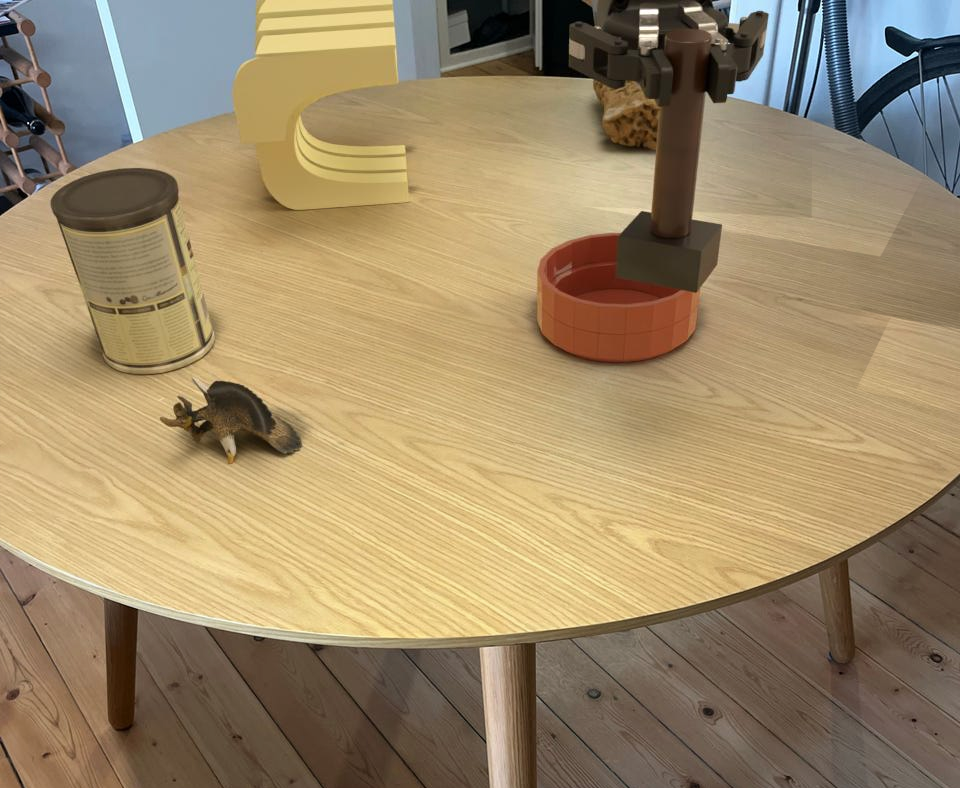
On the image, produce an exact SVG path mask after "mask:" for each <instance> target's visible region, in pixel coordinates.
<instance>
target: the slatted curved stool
mask: <svg viewBox="0 0 960 788" xmlns="http://www.w3.org/2000/svg"><path fill="white" fill-rule="evenodd" d="M254 13H255V15H254V16H255V23H254V24H255V25H254V33H255V38H254V39H255V40H254V58H251V59H248V60H246V61H244V62H243V63H242V64H240V66H239V67H238V69H237V71H236V74H235V77H234V80H233V84H232V90H231V91H232V93H231V97H232V105H233V109H234V114H235V119H236V125H237V129H238V135H239V140H240V144H242V145H243V144H254V147H255V151H256V156H257V159H258V164H259V168H260V174H261V178H262V181H263V183H264V185H265V188H266V189H267V191H268V192H269V194H270V195H271V196H272V197H273V198H274V200H275V201H277V202H278V203H279V204H281V205H282V206H284V207H285V208H287V209H291V210H295V211H303V210H305V211H306V210H318V209H319V210H321V209H332V208H345V207H360V206H362V207H363V206H374V205H388V204H399V203H400V204H401V203H410V197H409V196H410V195H409V182H408V179H409V178H408V165H407V164H408V163H407V153H406V144H396V145H395V144H394V145H369V146H362V145H361V146H360V145H359V146H358V145H343V144H336V143H331V142H327V141H326V142H325V141H323V140H320V139H318V138H316V137H314V136H313V135H311V134H310V133H309V132H308V130H307V129H306V128H305V126H304V124H303V121H302V117H301V114H302V113H303V111H304V110H305V109H306V108H307V107H308V106H309V105H311V104H312V103H314V102H317V101H318V100H320V99H322V98H325V97H328V96H332V95H334V94H339V93H343V92H346V91H353V90H359V89H365V88H373V87H380V86H389V85H399V71H398V53H397V39H396V38H397V37H396V26H395V24H396V23H395V12H394V0H256V4H255V12H254Z"/></svg>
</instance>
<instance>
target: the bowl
mask: <svg viewBox="0 0 960 788" xmlns="http://www.w3.org/2000/svg"><path fill="white" fill-rule="evenodd" d="M621 233H622V232H606V233H605V232H604V233H597V234H596V233H595V234H588V235H584V236H580V237H577V238H573V239H569V240H567V241H565V242H563V243H560V244H559V245H556V246H555V247H552V248H551V249H549V251H548V252H547V253H545V255H543V257H541V258H540V260H539V264H538V267H537V271H536V273H537V274H536V276H537V278H536V279H537V282H536V283H537V284H536V285H537V286H536V287H537V289H536V291H537V292H536V294H537V295H536V297H537V300H536V301H537V303H536V304H537V311H536V312H537V324H538V327H539V330H540V332H541V334H542V335H543V336H544V337H545V338H546V339H547V340H548V341H549V342H550V343H552V345H554V346H556V347H558V348H560V349H561V350H563V351H564V352H566V353H568V354H571V355H573V356H576V357H579V358H583V359H586V360H589V361H590V360H591V361H596V362H604V363H629V362H638V361H645V360H649V359H653V358H655V357H659V356H662V355H664V354H666V353H668V352H671V351H673V350H674V349H676V348H677V347H679V346H681V345H683V344H684V343H685V342H687V341H688V339H689V338H690V337H691V336H692V334H693V333H694V332H695V330H696V327H697V321H698V320H697V318H698V310H699V301H700V293H701V288H700V289H699V290H698V291H697V293H694V292H689V291H684V290H679V289H674V288H669V287H663V286H658V285H653V284H648V283H643V282H637V281H632V280H627V279H622V278H617V277H616V261H617V243H618V236H619V235H620V234H621Z"/></svg>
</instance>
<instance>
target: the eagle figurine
mask: <svg viewBox="0 0 960 788" xmlns="http://www.w3.org/2000/svg"><path fill="white" fill-rule="evenodd" d="M190 379H191V381H192V383H193V384H194V385H195V386H196V387H197V388H198V390H200V391H201V393H202V394H203V396H204V399H205V401H206V403H207V404H206V405H205V406H202V407H200V408H199V409H196V410H193V404H192V402H190V401H189V400H187V399H186V398H185V397H183V396H181V395H177V398H178V399H179V400H180V402H177V403H174V404H173V407H172V410H173V413H174V415H175V418H174V419H173V418H167V417H164V416H160V417H159V420H160V422H162V424H164V425H165V426H167V427H170V428H180V429H183V430H184V431H186V432H188V433H189V434H190V436H191V437H192V439H193V441H194V443H200V442H201V439H202V438H203V436H204V434H206V433H208V432H209V431H214V433H215V435H216V437H217V439H218V441H219V442H220V444H221V446H222V447H223V449H224V451H225V454H226V456H227V458H228V461H227V463H228V464H232V463H233V462H234V460H235V459H234V458H235V455H236V453H237V446H236V442H235V436H234V435H235V434H236V433H237V432H247V433H250V434H253V435H255V436H256V437H259V438H260V439H262V440H263V441H265V442H267V443H268V444H269V445H270V446H271V447H272V448H274V449H275V450H277V451H278V452H280V454H283V455H286V454H287V453H288V454H289V453H290V454H293V453H294V452H295V451H299V450H301V447H302V446H303V443H302V442H301V441H302V437H300V436H299V435H298V432H297V431H296V430H295V429H294V427H292V426H291V424H290V423H287V421H285V420H283V419H281V418H280V417H279V416H277V415H274V414H273V412H272V411H271V410H270V409H269V406H268V405H267V404H266V403H264V402H263V401H264V400H263V399H262V398H260V397H259V396H258V394H256V393H255V392H254V391H253V390H251V389H250V388H249V387H248V386H247V387H246V386H245V385H244V384H241V383H236V382H233V381H226V380H215V381H213V383H211V384H210V386H207V385H205V383H203V382H202V381H201V380H200V379H199V378H198V377H194V376H191V377H190ZM203 421H204V422H203ZM199 422H202V423H201V424H200V425H199V426H198V425H196V423H199Z"/></svg>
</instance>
